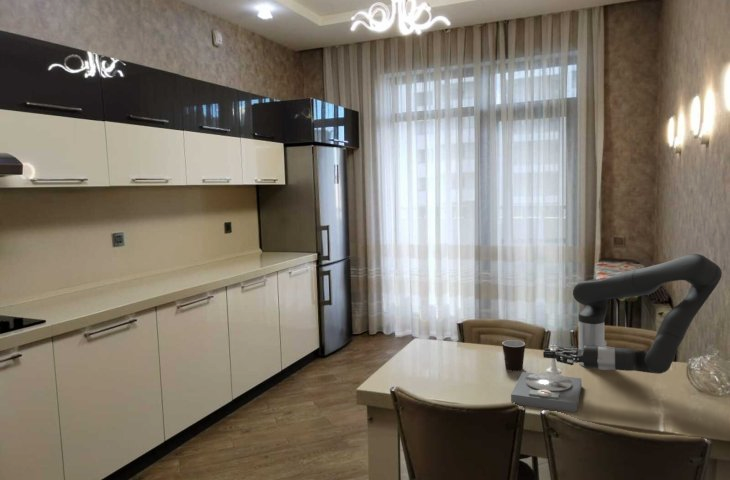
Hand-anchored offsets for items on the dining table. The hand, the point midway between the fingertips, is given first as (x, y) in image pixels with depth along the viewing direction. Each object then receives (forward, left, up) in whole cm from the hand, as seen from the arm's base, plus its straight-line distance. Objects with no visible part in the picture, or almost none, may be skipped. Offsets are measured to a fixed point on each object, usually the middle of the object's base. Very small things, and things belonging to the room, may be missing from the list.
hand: (544, 353), depth 176 cm
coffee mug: (-5, -24, -14) cm, 29 cm away
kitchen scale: (+1, +3, -14) cm, 14 cm away
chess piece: (-2, +2, -7) cm, 7 cm away
